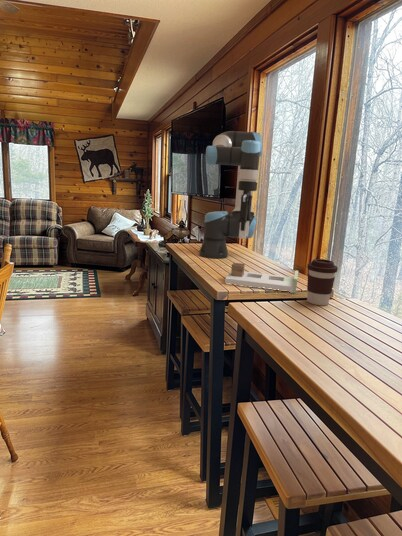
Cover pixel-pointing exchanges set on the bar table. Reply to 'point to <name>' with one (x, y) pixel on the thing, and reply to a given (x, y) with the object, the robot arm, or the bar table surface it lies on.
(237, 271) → the block
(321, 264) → the coffee cup
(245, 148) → the robot arm
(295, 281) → the board
